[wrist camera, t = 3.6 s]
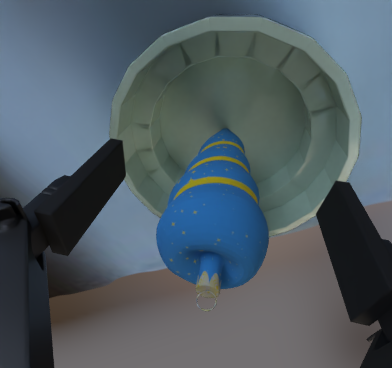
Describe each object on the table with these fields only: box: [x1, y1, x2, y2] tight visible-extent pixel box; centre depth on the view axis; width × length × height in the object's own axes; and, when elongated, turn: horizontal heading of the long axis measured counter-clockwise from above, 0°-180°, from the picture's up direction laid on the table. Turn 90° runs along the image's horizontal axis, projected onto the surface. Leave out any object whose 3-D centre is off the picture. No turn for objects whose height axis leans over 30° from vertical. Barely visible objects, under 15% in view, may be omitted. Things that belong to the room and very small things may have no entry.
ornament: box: [156, 128, 269, 311], centre depth 14 cm, size 5×5×15 cm
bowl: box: [109, 14, 362, 237], centre depth 18 cm, size 16×16×6 cm
